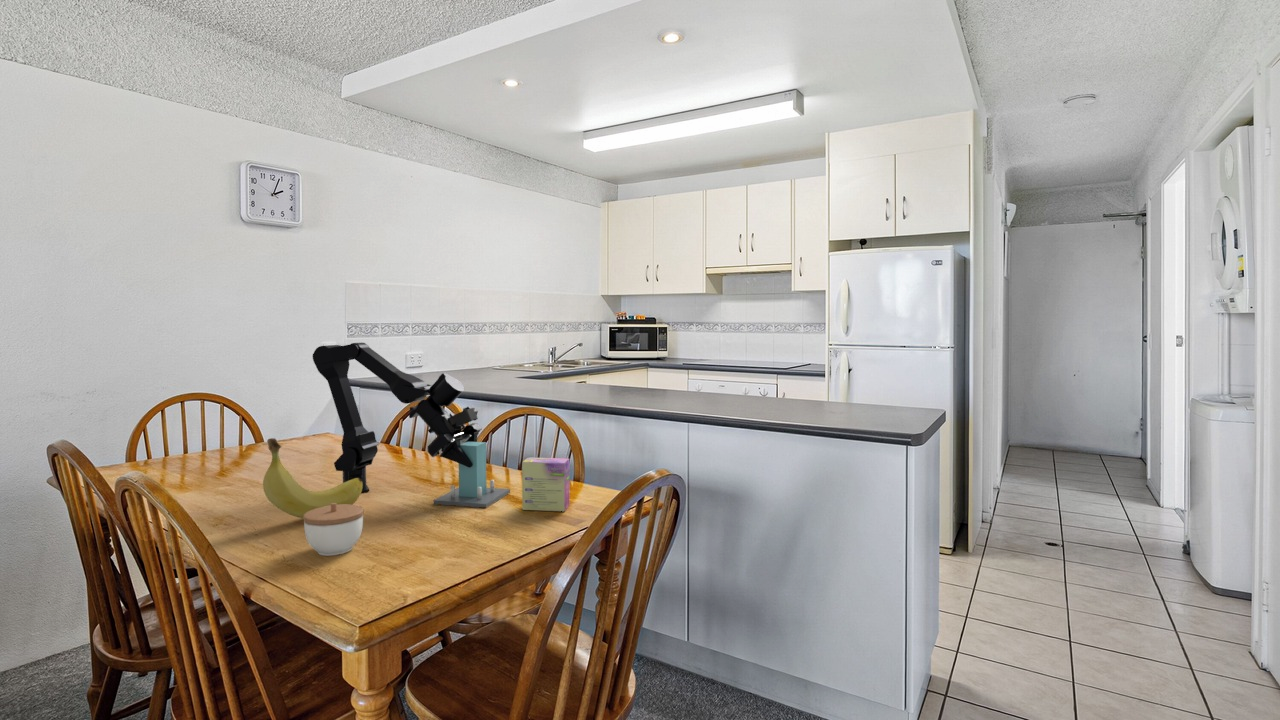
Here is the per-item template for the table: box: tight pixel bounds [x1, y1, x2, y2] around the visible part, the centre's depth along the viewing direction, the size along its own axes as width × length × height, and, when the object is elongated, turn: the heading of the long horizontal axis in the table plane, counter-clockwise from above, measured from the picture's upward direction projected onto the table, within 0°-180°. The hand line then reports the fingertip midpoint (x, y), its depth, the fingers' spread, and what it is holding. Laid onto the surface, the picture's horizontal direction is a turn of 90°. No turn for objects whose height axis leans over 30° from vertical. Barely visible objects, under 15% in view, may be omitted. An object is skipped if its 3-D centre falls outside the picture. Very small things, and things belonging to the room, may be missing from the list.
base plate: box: [432, 479, 511, 508], centre depth 165 cm, size 14×14×4 cm
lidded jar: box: [302, 503, 365, 557], centre depth 128 cm, size 11×11×9 cm
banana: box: [262, 437, 363, 519], centre depth 148 cm, size 23×6×20 cm, turn 146°
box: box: [521, 456, 571, 513], centre depth 157 cm, size 10×6×12 cm, turn 84°
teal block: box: [458, 441, 488, 498], centre depth 165 cm, size 5×5×13 cm
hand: (477, 463), depth 165 cm, fingers open, 6 cm apart
